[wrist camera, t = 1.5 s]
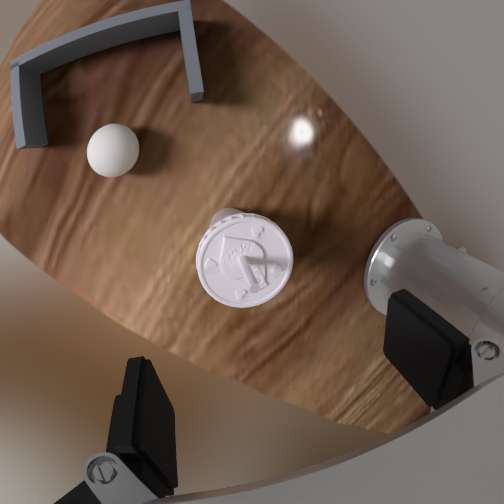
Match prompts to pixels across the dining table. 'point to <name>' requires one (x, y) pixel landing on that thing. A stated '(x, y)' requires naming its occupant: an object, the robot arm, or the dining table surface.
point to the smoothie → (243, 258)
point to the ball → (113, 150)
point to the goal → (85, 43)
